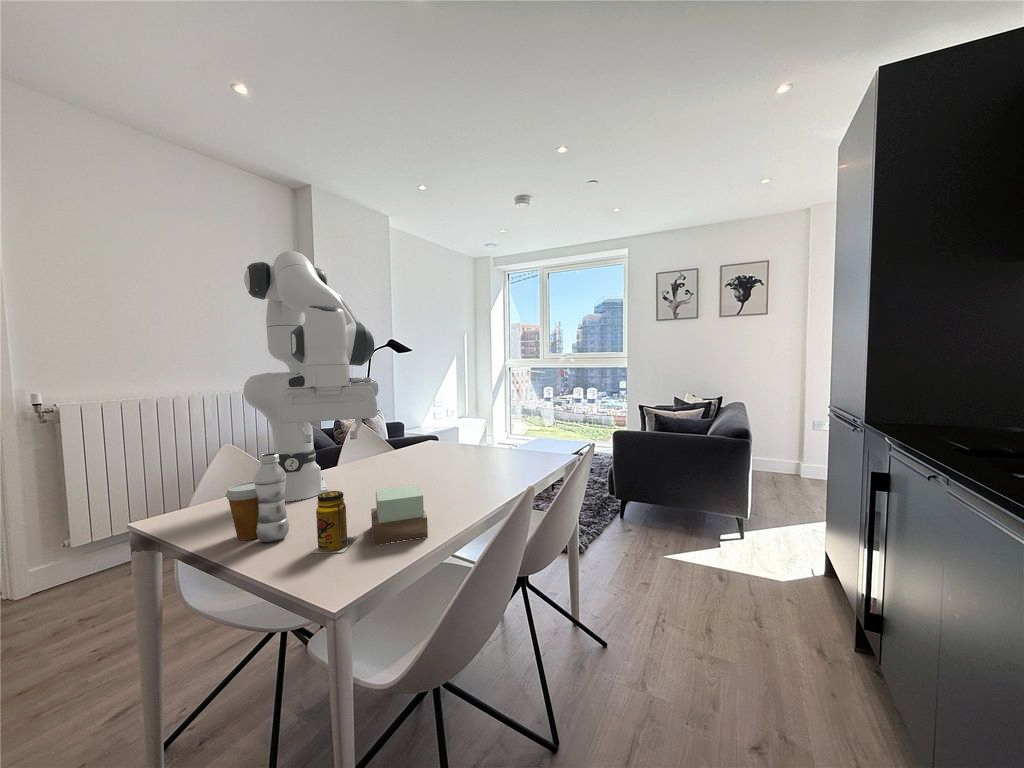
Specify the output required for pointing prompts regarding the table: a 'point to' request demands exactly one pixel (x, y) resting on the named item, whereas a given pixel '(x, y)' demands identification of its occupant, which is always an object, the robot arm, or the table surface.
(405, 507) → the top block
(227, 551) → the table surface
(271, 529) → the plastic bottle
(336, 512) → the condiment
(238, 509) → the disposable coffee cup
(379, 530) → the base block
